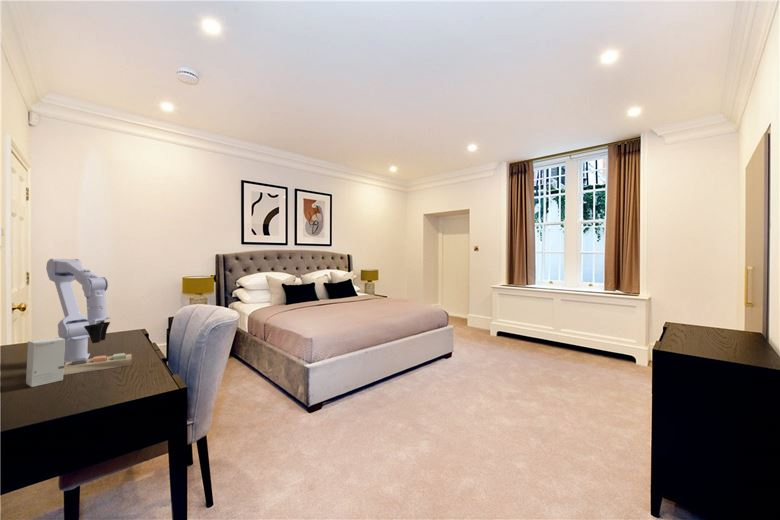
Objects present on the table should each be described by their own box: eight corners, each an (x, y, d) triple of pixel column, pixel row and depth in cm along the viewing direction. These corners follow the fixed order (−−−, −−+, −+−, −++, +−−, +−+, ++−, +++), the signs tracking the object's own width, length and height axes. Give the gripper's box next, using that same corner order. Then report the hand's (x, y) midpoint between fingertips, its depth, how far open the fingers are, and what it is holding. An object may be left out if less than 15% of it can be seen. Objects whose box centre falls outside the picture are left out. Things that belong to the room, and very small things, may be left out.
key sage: (113, 359, 135) (113, 354, 135) (124, 358, 137) (124, 352, 137) (112, 362, 132) (113, 356, 132) (124, 360, 135) (124, 355, 135)
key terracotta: (93, 362, 132) (94, 356, 131) (105, 360, 134) (105, 355, 134) (92, 364, 129) (93, 359, 129) (105, 363, 131) (105, 357, 131)
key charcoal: (73, 364, 128) (73, 359, 128) (85, 363, 130) (85, 357, 130) (71, 367, 125) (71, 361, 125) (84, 365, 127) (84, 360, 127)
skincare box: (31, 387, 110) (31, 343, 110) (25, 383, 113) (26, 340, 113) (65, 380, 117) (65, 338, 117) (58, 376, 120) (59, 335, 120)
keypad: (66, 368, 129) (66, 361, 129) (131, 359, 141) (131, 353, 141) (62, 375, 122) (62, 368, 122) (131, 365, 134) (131, 359, 134)
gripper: (104, 306, 128) (107, 341, 127) (113, 305, 141) (115, 337, 140) (80, 309, 124) (82, 345, 124) (91, 308, 137) (94, 340, 136)
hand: (98, 341), depth 132 cm, fingers open, 7 cm apart
